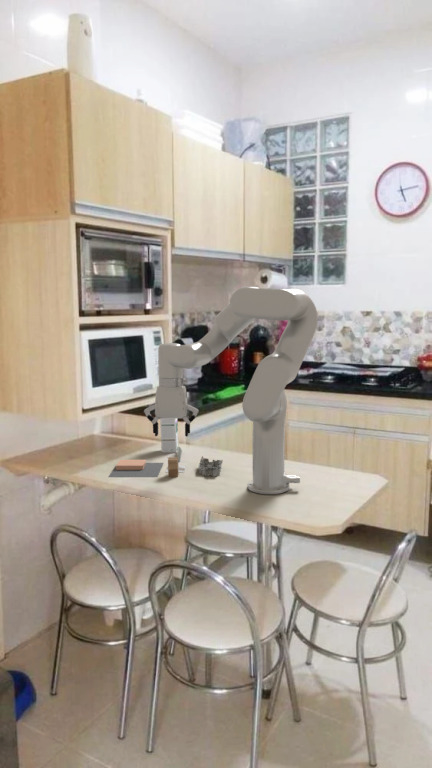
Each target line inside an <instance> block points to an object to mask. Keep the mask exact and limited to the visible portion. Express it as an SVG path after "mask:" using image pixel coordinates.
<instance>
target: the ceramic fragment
mask: <svg viewBox="0 0 432 768" xmlns="http://www.w3.org/2000/svg"><path fill="white" fill-rule="evenodd" d="M182 453H183V450H182V448H181V446H179V447H178V451H177V452H173V454H171V455H169V456H168V457H167V460H168V459H169V457H178V464H179V463H180V462H181V457H182Z"/></svg>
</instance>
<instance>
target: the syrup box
mask: <svg viewBox="0 0 432 768" xmlns="http://www.w3.org/2000/svg"><path fill="white" fill-rule="evenodd" d="M159 422H160V425H159V426H160V440H161V441H160V443H161V445H160V446H161V453H176V452H177V451H178V447H180V446H179V426H178V425H179V424H178V418H159Z"/></svg>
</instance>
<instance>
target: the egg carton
mask: <svg viewBox="0 0 432 768" xmlns="http://www.w3.org/2000/svg"><path fill="white" fill-rule="evenodd" d="M199 461H200V462H199V464H198V471H199V474H200V475H202V476H203V477H206V476H212V477H217V476H221V472H222V471H221V469H222V464H223V459H217V460H215V459H212V461H210V460H209V458H204V456H201V458H200V460H199Z"/></svg>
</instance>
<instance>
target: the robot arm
mask: <svg viewBox="0 0 432 768" xmlns="http://www.w3.org/2000/svg"><path fill="white" fill-rule="evenodd" d="M256 320H265V321H266V320H268V321H287V324H286V326H285V328H284V330H283V331H282V334H281V335H280V337H279V341H278V343H277V345H276V346H275V349H274V351H273V352H272V354H269V355H267V356H265V357H263V358H262V359H261V361H260V362H259V363H258V365H257V366H256V369H255V371H254V373H253V375H252V377H251V379H250V382H249V385H248V387H247V389H246V391H245V394H244V396H243V400H242V407H241V408H242V412H243V414H244V416H245V417H246V418H247V419H248V420H249V421H251V422H252V440H251V441H252V442H251V443H252V480H250V481H248V482H247V489H248V490H249V491H250V492H252V493H256V494H261V495H277V494H279V495H280V494H284V493H286V492H287V491H289V490H290V486H291V485H290V484H300V483H301V477H300V476H296V475H295V474H294V475H292V474H291V475H288V474H286V471H285V437H286V436H285V433H286V431H285V427H286V414H287V404H288V403H287V402H288V401H287V396H286V393H285V391H284V390H285V388H286V387H287V385H288V384H290V383H292V382H293V381H294V380H295V379H296V378H297V376H298V373H299V371H300V369H301V366H302V364H303V361H304V359H305V357H306V355H307V352H308V350H309V347H310V345H311V342H312V341H313V338H314V337H315V333H316V330H317V327H318V310H317V307H316V305H315V302H314V301H313V299H312V298H311V297H310V296H309V295H308V294H307V293H306V292H304V291H303V290H300V289H297V288H281V289H280V288H261V287H258V286H242V287H240V288H238V289H236V290H235V291H234V292H233V293H232V295H231V296H230V300H229V303H228V305H227V306H225V307H224V308H223V309H222V310H221V311H219V313H217V314H216V316H215V317H214V321H213V322H214V323H213V326H212V328H211V329H210V330H209V331H208V332H207V333H206V334H205V335H204V336H203V337H202V338H200V339H199V340H198V341H196V342H192V343H186V344H180V343H177V342H165V343H161V344H159V345H158V349H157V351H158V352H157V353H158V355H157V357H158V385H157V387H156V390H155V401H154V404H153V405H150V406H149V407H147V408H145V409H144V410H143V413H144V414H145V416H146V418H147V419H148V420H149V422H151V424H152V432H153V434H154V436H155V437H157V436H159V422H158V421H159V420H160V418H177V419H183V421H184V422H185V424H184V436H185V437H188V436H189V434H190V433H191V423H192V422H193V421H194V420H195V419H196V417H197V415H198V414H199V412H200V411H199V409H198V408H197V407H194V406H192V405H191V404H188V394H187V388H186V386H185V385H184V384H188V378H184V377H183V375H184V374H183V372H184V371H183V369H185V370H192V369H195V368H198V367H201V366H205V365H207V364H209V363H210V362H212V360H214V359H215V358H216V357H217V356H218V355H220V353H222V352H223V351H224V350H225V349H226V348H227V347H228V346H229V345H230V344H231V343H232V342H233V340H234V339H235V338H236V337H237V336H238V335H239V334H240V333H241V332H243V331H244V330H245V329H246V328H247V327H248V326H249V325H251V324H252V323H253V322H255V321H256ZM151 411H154V415H155V417H154V416H153V415H152V414H151ZM188 411H190V412H192V415H191V416H190V417H189V415H188Z"/></svg>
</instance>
